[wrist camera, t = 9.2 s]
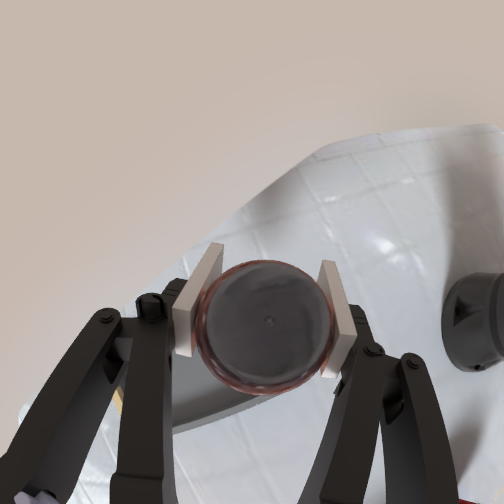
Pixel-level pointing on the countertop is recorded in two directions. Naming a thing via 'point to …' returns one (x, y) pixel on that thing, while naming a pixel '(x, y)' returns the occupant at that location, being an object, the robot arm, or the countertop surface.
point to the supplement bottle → (264, 327)
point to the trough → (197, 394)
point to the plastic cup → (465, 502)
